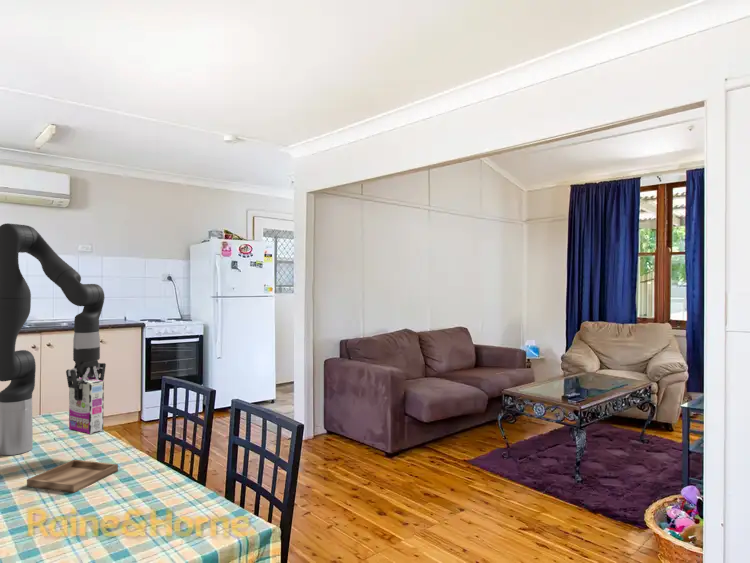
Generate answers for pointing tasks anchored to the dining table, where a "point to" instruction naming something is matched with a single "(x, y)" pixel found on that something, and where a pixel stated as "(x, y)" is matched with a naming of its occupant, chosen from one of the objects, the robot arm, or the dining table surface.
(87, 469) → the walnut tray
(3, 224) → the robot arm
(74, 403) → the candy bar box
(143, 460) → the dining table surface
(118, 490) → the dining table surface
